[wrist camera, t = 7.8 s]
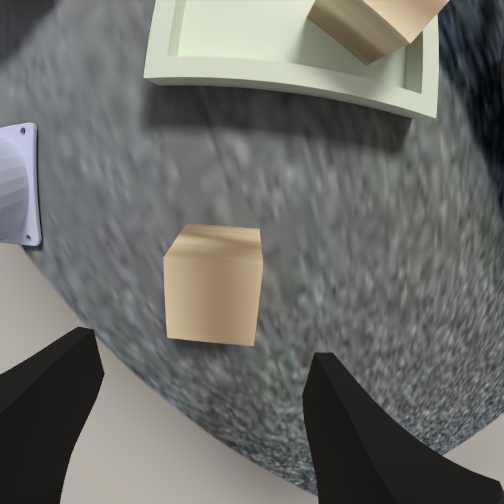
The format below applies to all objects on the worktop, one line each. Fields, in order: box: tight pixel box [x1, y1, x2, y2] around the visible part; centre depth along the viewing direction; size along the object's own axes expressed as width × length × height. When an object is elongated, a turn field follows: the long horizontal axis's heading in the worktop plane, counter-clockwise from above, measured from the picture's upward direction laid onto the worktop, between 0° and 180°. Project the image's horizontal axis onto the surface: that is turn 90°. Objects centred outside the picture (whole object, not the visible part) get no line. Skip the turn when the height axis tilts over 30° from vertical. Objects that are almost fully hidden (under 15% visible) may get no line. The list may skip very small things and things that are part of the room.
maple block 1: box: [164, 223, 263, 346], centre depth 15 cm, size 4×4×5 cm
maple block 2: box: [306, 0, 449, 66], centre depth 10 cm, size 4×4×5 cm
